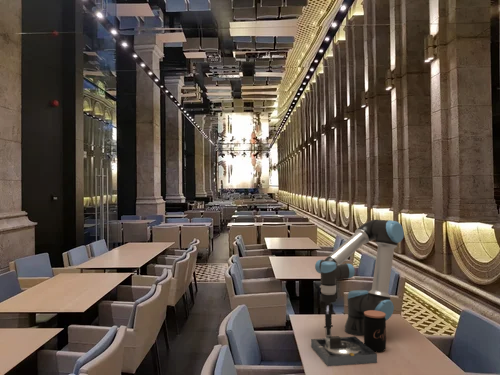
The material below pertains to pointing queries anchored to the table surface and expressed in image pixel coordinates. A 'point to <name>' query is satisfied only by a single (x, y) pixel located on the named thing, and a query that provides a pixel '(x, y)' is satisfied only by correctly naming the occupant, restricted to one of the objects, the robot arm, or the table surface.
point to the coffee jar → (375, 330)
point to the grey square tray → (347, 359)
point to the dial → (340, 346)
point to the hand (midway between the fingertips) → (328, 340)
